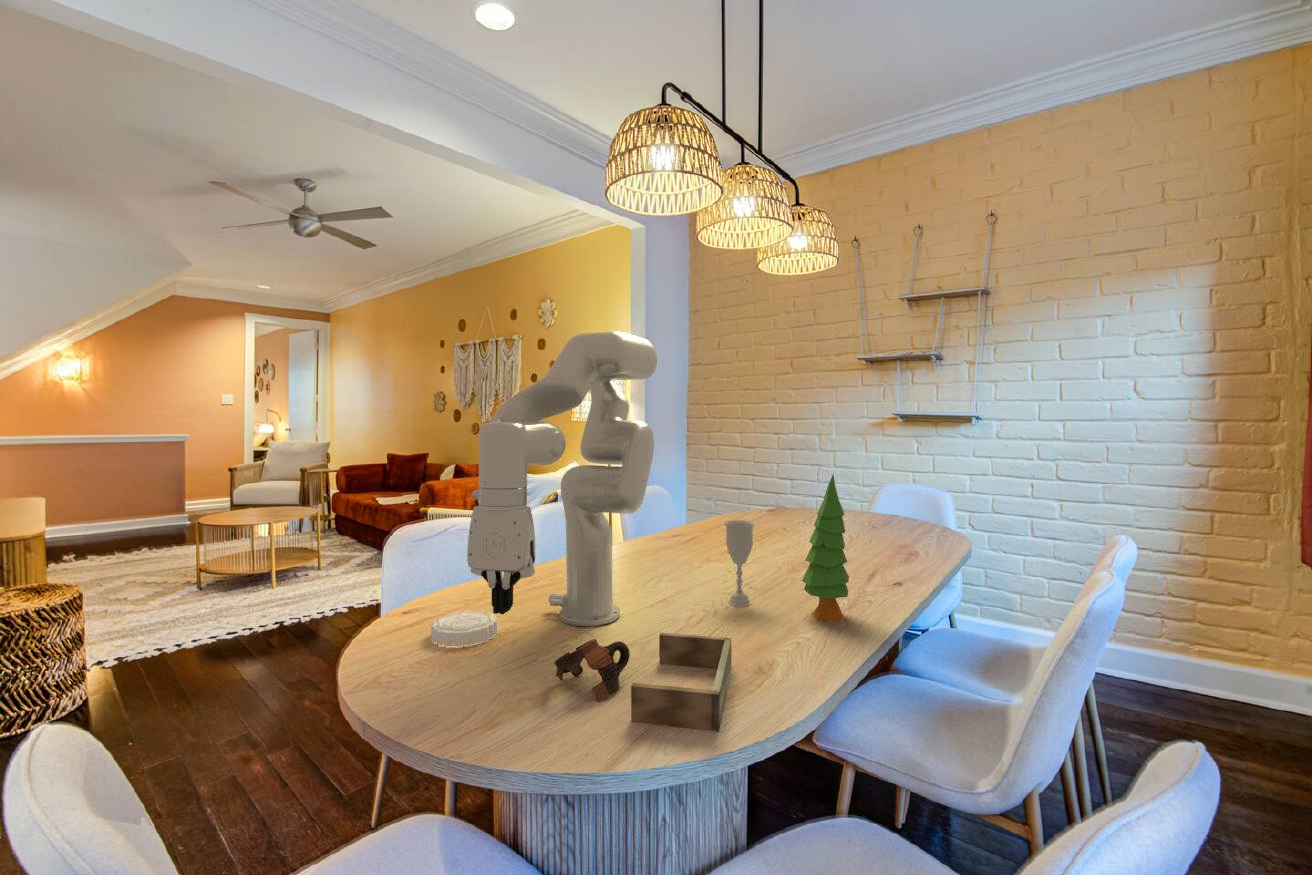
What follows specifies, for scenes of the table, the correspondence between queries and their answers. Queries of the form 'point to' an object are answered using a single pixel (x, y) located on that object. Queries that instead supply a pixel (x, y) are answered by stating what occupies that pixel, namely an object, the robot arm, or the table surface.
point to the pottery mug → (596, 665)
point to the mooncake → (464, 628)
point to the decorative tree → (827, 558)
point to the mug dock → (681, 702)
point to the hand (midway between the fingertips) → (502, 611)
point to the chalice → (739, 554)
